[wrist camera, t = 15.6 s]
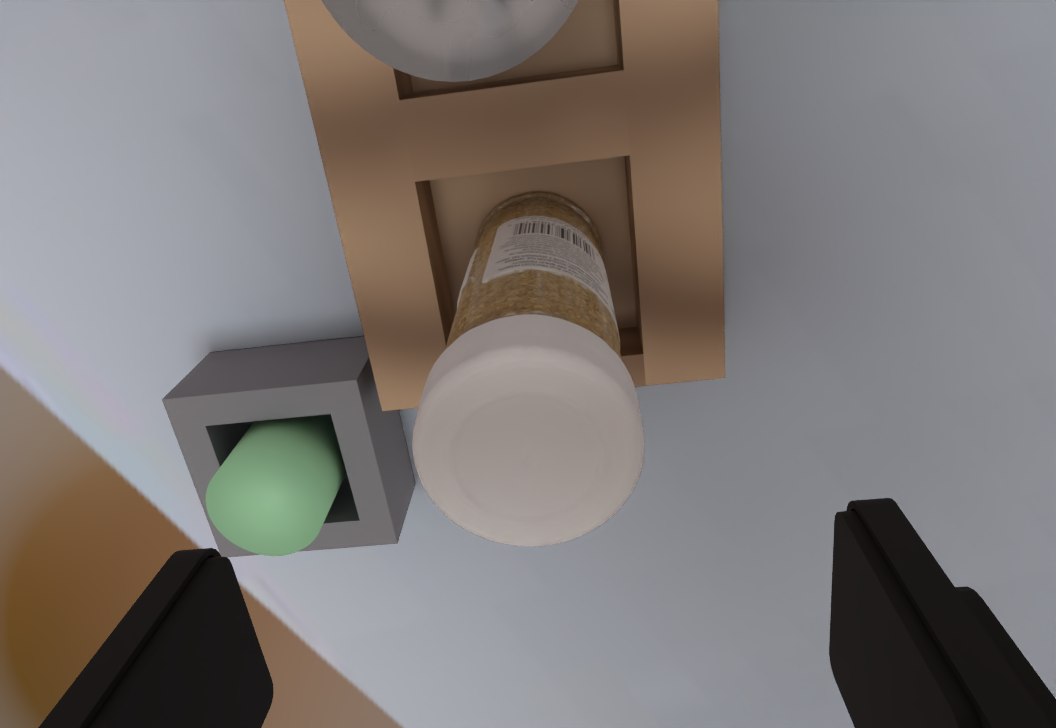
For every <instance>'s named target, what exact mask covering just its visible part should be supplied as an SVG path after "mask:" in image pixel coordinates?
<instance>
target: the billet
mask: <svg viewBox="0 0 1056 728" xmlns="http://www.w3.org/2000/svg"><path fill="white" fill-rule="evenodd" d="M322 2H323V4H324V5H325V7H326V8H327V10H328V11H329V12H330V14H331V15H332V17H333V18H334V20H335V21H336V22H337V23H338V24H339V26H340V27H341V28H342V29H343V30H344V31H345V32H346V33H347V35H348V36H349V37H350V38H352V39H353V40H354V41H355V42H356V43H357V44H358V45H359V46H360V47H362V48H363V49H364V50H365V51H367V52H368V53H370V54H371V55H372V56H374V57H375V58H377V59H378V60H380V61H381V62H383V63H385V64H387V65H389V66H391V67H393V68H395V69H397V70H399V71H402V72H404V73H407V74H410V75H413V76H415V77H420V78H425V79H429V80H434V81H447V82H458V81H472V80H476V79H481V78H486V77H490V76H493V75H495V74H498V73H501V72H504V71H506V70H508V69H510V68H512V67H514V66H516V65H518V64H520V63H522V62H523V61H525V60H526V59H527V58H529V57H530V56H532V55H533V54H535V53H536V52H537V51H539V50H540V49H541V48H542V47H543V46H544V45H545V44H546V43H547V42H548V41H549V40H550V39H551V38H552V37H553V36H554V35H555V34H556V33H557V31H558V30H559V29H560V28H561V27H562V25H563V24H564V23H565V22H566V20H567V19H568V17H569V15H570V14H571V12H572V11H573V9H574V8H575V6H576V4H577V2H578V0H322Z"/></svg>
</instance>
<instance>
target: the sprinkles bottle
mask: <svg viewBox="0 0 1056 728" xmlns="http://www.w3.org/2000/svg"><path fill="white" fill-rule="evenodd" d="M412 449H413V457H414V462H415V467H416V470H417V473H418V476H419V478H420V481H421V483H422V485H423V487H424V489H425V491H426V492H427V494H428V495H429V497H430V498H431V500H432V501H433V502H434V503H435V505H436V506H437V507H438V508H439V509H440V510H441V511H442V512H443V513H444V514H445V515H446V516H447V517H448V518H450V519H451V520H452V521H453V522H454V523H456V524H458V525H459V526H461V527H462V528H464V529H466V530H467V531H469V532H471V533H473V534H476V535H478V536H480V537H483V538H485V539H488V540H491V541H495V542H498V543H503V544H507V545H513V546H531V547H536V546H545V545H552V544H558V543H562V542H565V541H569V540H572V539H575V538H577V537H580V536H582V535H584V534H586V533H589V532H591V531H592V530H594V529H596V528H598V527H599V526H601V525H602V524H604V523H605V522H606V521H607V520H609V519H610V518H611V517H612V516H613V515H614V514H615V513H616V512H617V511H618V510H619V509H620V508H621V507H622V506H623V504H624V503H625V502H626V501H627V499H628V498H629V497H630V495H631V493H632V492H633V490H634V488H635V485H636V483H637V481H638V478H639V476H640V473H641V469H642V465H643V459H644V432H643V426H642V419H641V412H640V407H639V403H638V398H637V394H636V390H635V386H634V383H633V381H632V378H631V376H630V374H629V372H628V370H627V368H626V367H625V365H624V363H623V362H622V359H621V354H620V338H619V332H618V327H617V322H616V317H615V312H614V307H613V302H612V297H611V293H610V288H609V283H608V279H607V274H606V270H605V266H604V263H603V251H602V247H601V239H600V236H599V233H598V231H597V228H596V226H595V224H594V223H593V221H592V220H591V218H590V217H589V216H588V215H587V214H586V212H585V211H584V210H583V209H582V208H580V207H579V206H577V205H575V204H574V203H573V202H572V201H570V200H568V199H565V198H562V197H561V196H559V195H556V194H552V193H542V192H529V193H526V194H521V195H518V196H516V197H511V198H509V199H508V200H506V201H505V202H503V203H501V204H500V205H498V206H497V207H495V208H494V209H493V210H492V211H491V212H490V213H489V214H488V215H487V217H486V218H485V220H484V222H483V223H482V225H481V226H480V228H479V230H478V233H477V238H476V241H475V245H474V249H473V255H472V257H471V259H470V262H469V265H468V268H467V271H466V274H465V277H464V280H463V283H462V287H461V290H460V293H459V298H458V302H457V312H456V314H455V318H454V321H453V324H452V328H451V331H450V334H449V338H448V342H447V346H446V349H445V351H444V352H443V353H442V354H441V355H440V357H439V358H438V360H437V361H436V362H435V364H434V365H433V367H432V369H431V371H430V373H429V376H428V378H427V380H426V383H425V386H424V389H423V393H422V396H421V399H420V403H419V407H418V411H417V415H416V420H415V424H414V429H413V436H412Z"/></svg>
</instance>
